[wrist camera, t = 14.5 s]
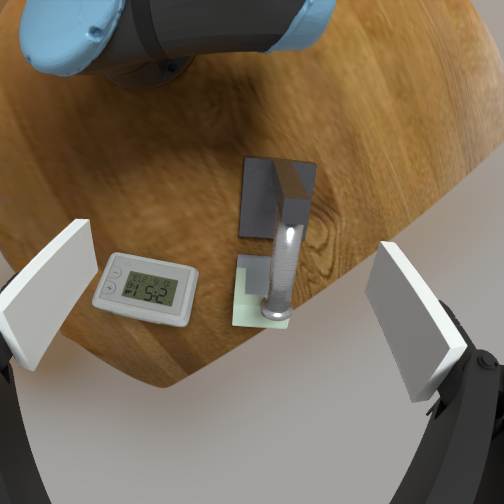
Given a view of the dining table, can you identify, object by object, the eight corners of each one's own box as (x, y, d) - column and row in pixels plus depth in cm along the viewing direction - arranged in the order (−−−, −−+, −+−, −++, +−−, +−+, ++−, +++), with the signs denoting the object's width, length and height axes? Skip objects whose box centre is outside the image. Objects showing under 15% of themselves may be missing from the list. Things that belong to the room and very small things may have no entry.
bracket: (235, 287, 52) (232, 325, 43) (236, 267, 50) (233, 304, 41) (282, 290, 52) (287, 328, 44) (285, 270, 50) (291, 307, 42)
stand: (238, 244, 49) (231, 322, 33) (245, 154, 42) (240, 194, 26) (300, 249, 49) (320, 326, 33) (315, 161, 42) (351, 205, 26)
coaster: (235, 293, 53) (234, 296, 53) (237, 254, 49) (237, 256, 49) (280, 296, 54) (280, 299, 53) (287, 257, 50) (287, 260, 49)
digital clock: (204, 267, 51) (194, 308, 42) (189, 305, 55) (179, 347, 46) (116, 234, 48) (89, 267, 39) (109, 274, 52) (85, 311, 43)
